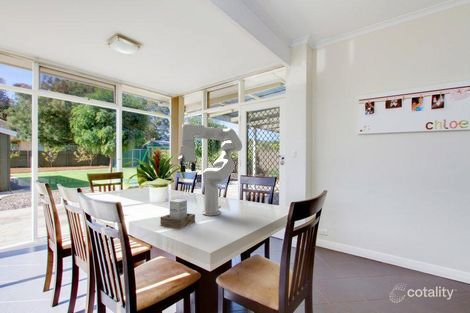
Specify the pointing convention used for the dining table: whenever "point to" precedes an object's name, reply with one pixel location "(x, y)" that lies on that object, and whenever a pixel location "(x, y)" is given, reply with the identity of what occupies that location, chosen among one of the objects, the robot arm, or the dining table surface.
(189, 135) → the robot arm
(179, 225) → the wooden shadow box
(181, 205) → the supplement box
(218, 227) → the dining table surface
